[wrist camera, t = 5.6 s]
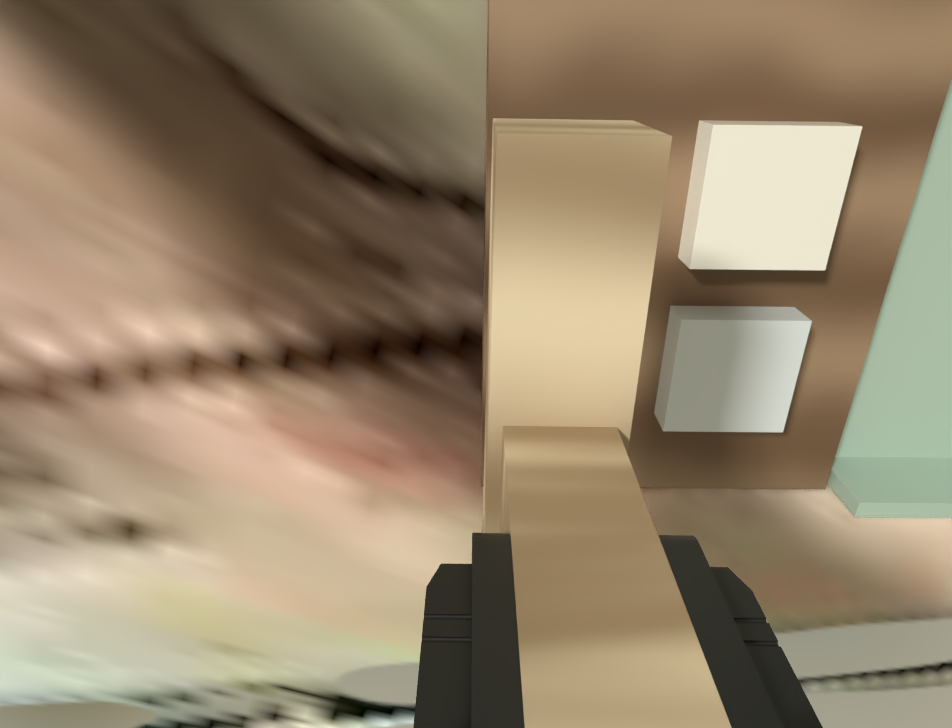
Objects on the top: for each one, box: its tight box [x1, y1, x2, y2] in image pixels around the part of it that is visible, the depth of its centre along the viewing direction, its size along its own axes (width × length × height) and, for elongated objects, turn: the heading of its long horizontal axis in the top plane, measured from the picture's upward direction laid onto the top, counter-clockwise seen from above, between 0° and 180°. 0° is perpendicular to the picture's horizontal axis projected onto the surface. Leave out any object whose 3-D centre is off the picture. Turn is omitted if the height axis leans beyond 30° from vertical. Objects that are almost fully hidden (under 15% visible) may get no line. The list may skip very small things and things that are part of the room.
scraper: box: [482, 118, 732, 728], centre depth 10 cm, size 14×3×14 cm, turn 179°
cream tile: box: [678, 120, 863, 270], centre depth 23 cm, size 5×5×2 cm
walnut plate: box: [481, 0, 952, 489], centre depth 27 cm, size 20×16×4 cm
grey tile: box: [654, 306, 812, 432], centre depth 26 cm, size 5×5×2 cm
